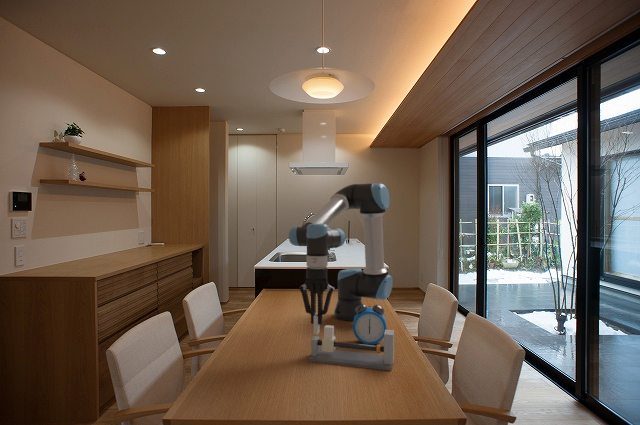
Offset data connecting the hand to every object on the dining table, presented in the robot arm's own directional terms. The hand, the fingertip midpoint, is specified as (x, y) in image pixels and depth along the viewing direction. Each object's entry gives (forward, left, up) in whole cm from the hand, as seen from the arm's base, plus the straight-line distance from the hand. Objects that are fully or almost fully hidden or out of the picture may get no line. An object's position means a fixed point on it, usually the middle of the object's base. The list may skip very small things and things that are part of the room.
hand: (316, 332), depth 133 cm
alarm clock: (-19, +17, -9) cm, 27 cm away
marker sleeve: (0, +5, -6) cm, 7 cm away
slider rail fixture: (0, +13, -8) cm, 15 cm away
